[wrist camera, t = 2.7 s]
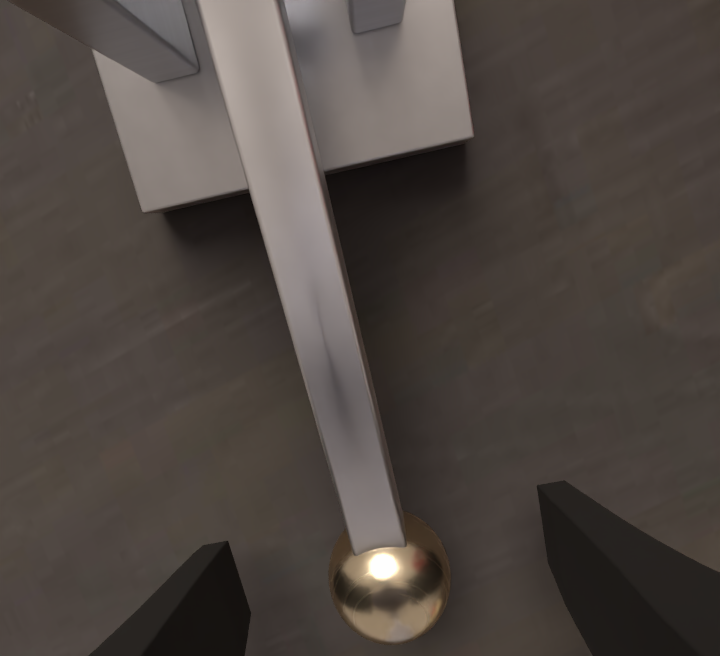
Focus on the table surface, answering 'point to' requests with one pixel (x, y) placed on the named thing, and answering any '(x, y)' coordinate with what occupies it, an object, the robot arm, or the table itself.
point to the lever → (323, 325)
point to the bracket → (319, 74)
